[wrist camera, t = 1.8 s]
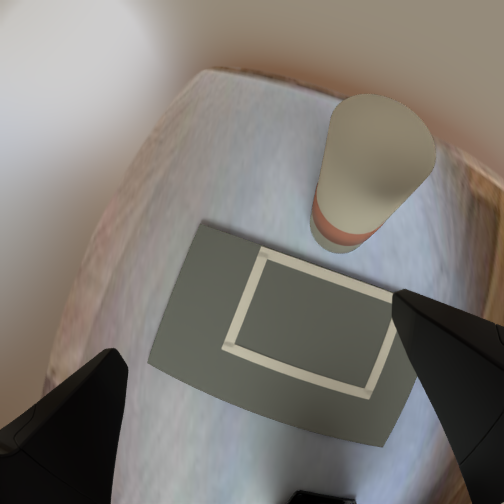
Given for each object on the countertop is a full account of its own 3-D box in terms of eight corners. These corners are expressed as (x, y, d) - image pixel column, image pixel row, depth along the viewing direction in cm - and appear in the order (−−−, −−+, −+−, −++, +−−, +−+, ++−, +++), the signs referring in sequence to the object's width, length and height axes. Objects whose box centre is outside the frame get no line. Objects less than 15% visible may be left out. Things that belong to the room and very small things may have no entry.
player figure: (373, 208, 23) (437, 118, 10) (358, 262, 22) (432, 207, 9) (319, 188, 24) (341, 81, 11) (301, 242, 23) (314, 162, 10)
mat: (436, 309, 20) (439, 309, 19) (380, 444, 18) (382, 447, 18) (202, 225, 24) (199, 223, 24) (150, 361, 22) (146, 363, 22)
